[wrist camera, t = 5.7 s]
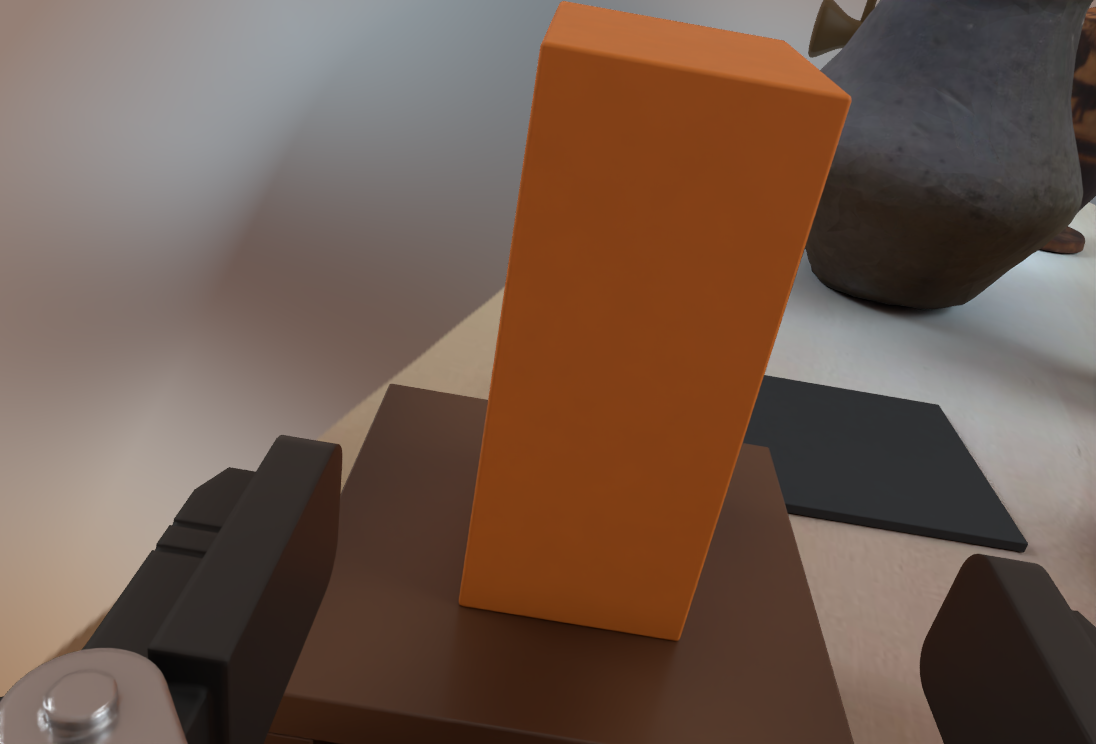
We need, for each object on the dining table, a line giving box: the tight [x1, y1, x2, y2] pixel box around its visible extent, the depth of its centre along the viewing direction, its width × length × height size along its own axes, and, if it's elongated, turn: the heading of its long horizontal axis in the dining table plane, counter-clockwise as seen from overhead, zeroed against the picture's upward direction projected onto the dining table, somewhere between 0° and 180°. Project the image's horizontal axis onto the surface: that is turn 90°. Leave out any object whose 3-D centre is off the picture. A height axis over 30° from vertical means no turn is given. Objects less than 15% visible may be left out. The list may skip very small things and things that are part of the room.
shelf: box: [264, 384, 854, 744], centre depth 24 cm, size 12×12×8 cm
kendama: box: [808, 0, 877, 57], centre depth 92 cm, size 6×10×20 cm, turn 73°
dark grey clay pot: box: [805, 0, 1093, 309], centre depth 61 cm, size 21×22×25 cm
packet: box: [459, 1, 851, 641], centre depth 19 cm, size 5×6×12 cm
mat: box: [743, 375, 1028, 552], centre depth 44 cm, size 14×12×1 cm
